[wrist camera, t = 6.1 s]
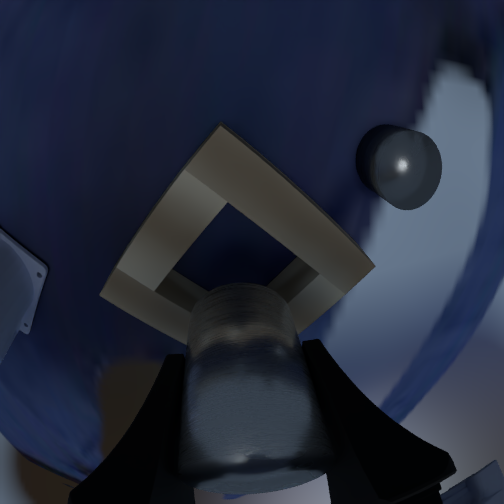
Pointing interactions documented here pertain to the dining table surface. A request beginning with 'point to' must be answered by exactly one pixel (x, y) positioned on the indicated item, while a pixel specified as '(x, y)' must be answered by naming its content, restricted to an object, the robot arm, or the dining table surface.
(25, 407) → the dining table surface
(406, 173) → the short metal stub
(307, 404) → the tall metal pin
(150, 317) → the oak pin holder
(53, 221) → the dining table surface
